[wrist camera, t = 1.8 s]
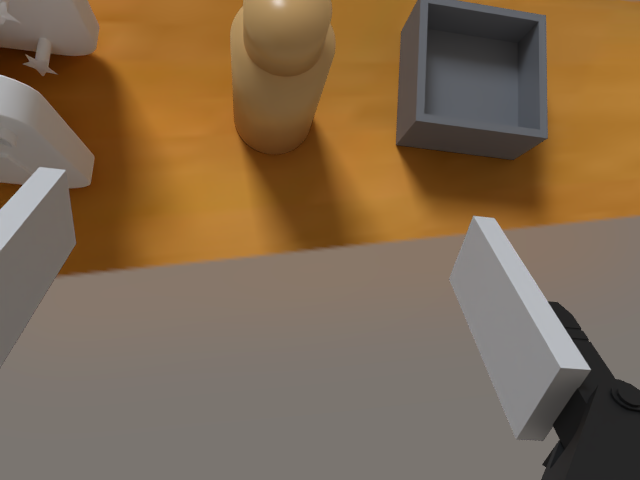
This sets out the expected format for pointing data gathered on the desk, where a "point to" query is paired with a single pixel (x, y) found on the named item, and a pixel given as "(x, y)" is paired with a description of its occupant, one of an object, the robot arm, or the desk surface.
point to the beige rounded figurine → (279, 70)
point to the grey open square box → (472, 79)
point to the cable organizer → (28, 104)
